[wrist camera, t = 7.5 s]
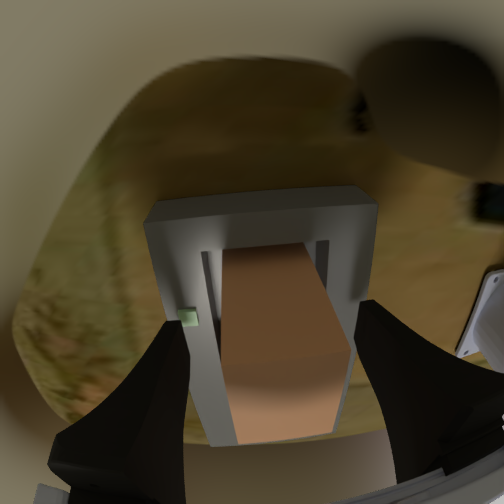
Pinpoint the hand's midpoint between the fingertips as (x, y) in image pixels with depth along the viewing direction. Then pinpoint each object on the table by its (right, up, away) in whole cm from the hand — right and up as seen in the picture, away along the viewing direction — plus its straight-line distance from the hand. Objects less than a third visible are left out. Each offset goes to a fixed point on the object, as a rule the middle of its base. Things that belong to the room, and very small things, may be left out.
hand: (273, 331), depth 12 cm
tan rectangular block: (0, +1, +3) cm, 3 cm away
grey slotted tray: (0, -2, +5) cm, 6 cm away
